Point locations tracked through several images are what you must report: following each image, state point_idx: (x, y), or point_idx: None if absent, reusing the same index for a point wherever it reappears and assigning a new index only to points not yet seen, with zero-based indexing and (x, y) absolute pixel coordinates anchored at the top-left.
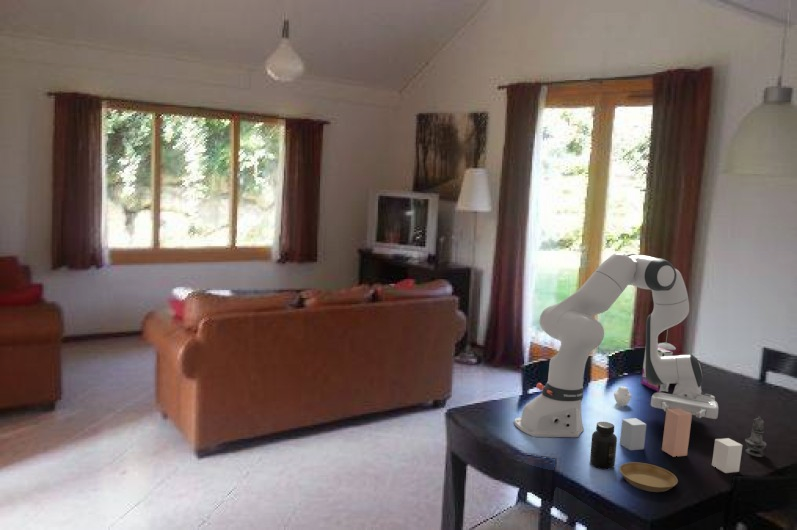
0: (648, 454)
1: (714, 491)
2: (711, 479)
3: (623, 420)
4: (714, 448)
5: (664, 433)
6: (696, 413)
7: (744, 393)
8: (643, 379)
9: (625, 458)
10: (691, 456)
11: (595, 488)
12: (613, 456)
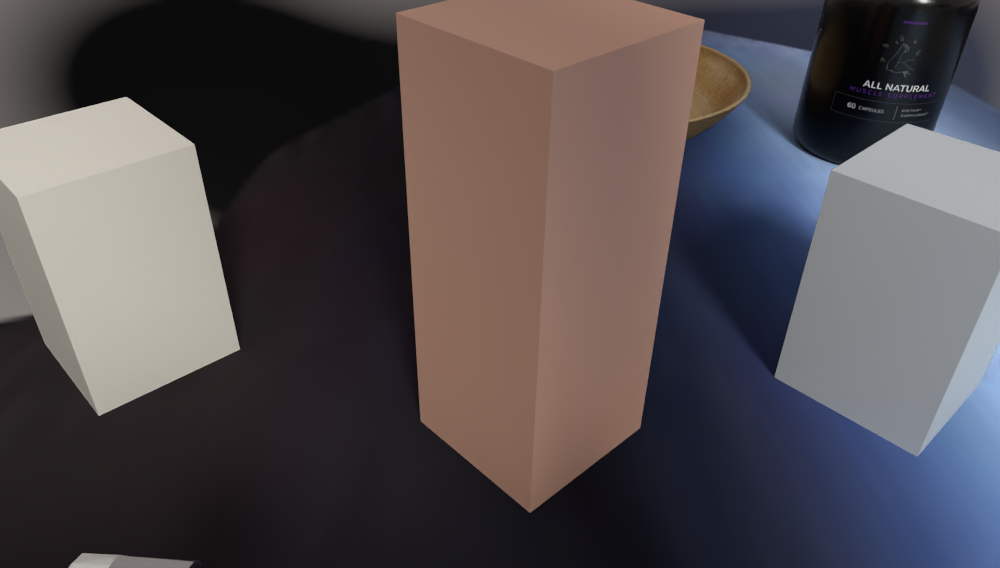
0: (706, 315)
1: (319, 135)
2: (303, 205)
3: None
4: (208, 219)
5: (653, 288)
6: (194, 566)
7: None
8: None
9: (802, 223)
10: (381, 422)
11: (764, 46)
12: (808, 65)
